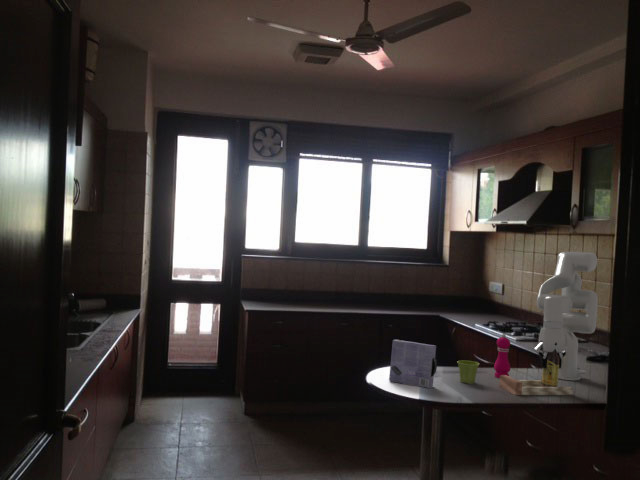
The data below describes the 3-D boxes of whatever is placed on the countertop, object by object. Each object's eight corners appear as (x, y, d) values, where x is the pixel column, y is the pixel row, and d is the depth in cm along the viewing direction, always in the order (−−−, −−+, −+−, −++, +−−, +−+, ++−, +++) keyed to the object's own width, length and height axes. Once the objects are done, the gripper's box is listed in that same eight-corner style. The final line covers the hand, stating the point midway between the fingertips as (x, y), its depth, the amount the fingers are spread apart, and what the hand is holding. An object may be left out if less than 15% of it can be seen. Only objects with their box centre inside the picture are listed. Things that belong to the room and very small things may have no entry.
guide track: (554, 387, 243) (554, 375, 243) (572, 394, 231) (572, 382, 231) (499, 386, 238) (500, 375, 238) (514, 394, 226) (515, 382, 226)
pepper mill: (497, 374, 263) (499, 332, 263) (512, 377, 258) (514, 334, 259) (491, 376, 257) (493, 333, 258) (506, 379, 253) (508, 335, 253)
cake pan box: (436, 386, 233) (438, 344, 233) (433, 389, 228) (435, 346, 229) (392, 379, 241) (394, 338, 242) (388, 381, 237) (390, 340, 237)
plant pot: (452, 379, 247) (453, 360, 248) (471, 379, 250) (472, 360, 250) (462, 385, 238) (463, 364, 238) (482, 384, 240) (483, 364, 241)
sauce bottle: (538, 386, 238) (540, 339, 238) (549, 385, 240) (552, 339, 241) (549, 390, 232) (552, 342, 232) (561, 389, 234) (563, 342, 234)
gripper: (565, 324, 242) (563, 365, 242) (529, 323, 238) (527, 365, 238) (576, 327, 234) (574, 369, 234) (539, 326, 231) (537, 369, 231)
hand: (550, 367), depth 236 cm, fingers closed on sauce bottle, 6 cm apart
